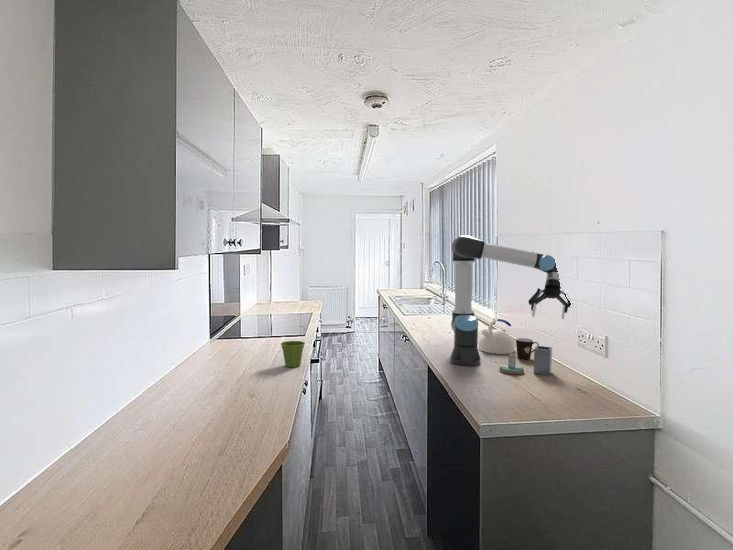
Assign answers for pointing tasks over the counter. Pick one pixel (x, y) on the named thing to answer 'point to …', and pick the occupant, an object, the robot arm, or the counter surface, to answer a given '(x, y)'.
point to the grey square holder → (542, 360)
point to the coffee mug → (524, 348)
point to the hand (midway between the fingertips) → (547, 316)
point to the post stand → (511, 367)
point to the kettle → (496, 340)
